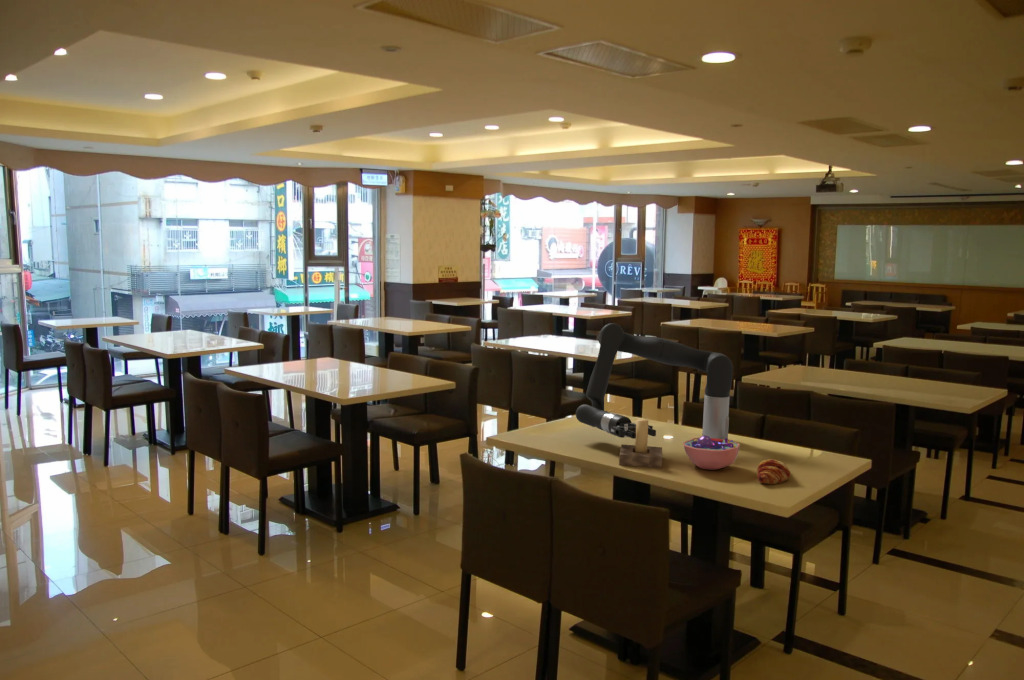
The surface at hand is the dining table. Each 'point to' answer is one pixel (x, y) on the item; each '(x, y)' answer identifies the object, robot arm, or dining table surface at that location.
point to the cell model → (711, 452)
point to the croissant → (772, 472)
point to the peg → (641, 436)
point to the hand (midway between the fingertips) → (645, 434)
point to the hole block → (640, 456)
